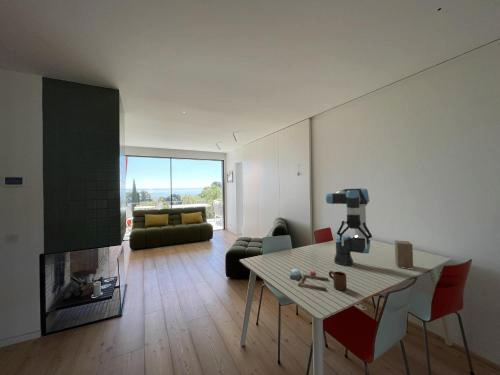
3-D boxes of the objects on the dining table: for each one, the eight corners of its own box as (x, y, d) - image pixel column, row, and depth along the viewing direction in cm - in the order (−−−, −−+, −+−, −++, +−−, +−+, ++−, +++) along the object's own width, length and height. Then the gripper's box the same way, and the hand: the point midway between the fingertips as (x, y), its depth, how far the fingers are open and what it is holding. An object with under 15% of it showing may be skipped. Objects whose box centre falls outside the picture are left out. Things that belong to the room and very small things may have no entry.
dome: (292, 272, 152) (292, 268, 152) (300, 273, 150) (300, 269, 150) (290, 275, 147) (290, 271, 147) (299, 276, 144) (298, 272, 144)
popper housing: (292, 274, 153) (292, 272, 153) (301, 276, 150) (301, 273, 150) (289, 278, 146) (289, 275, 147) (299, 280, 143) (299, 277, 144)
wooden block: (395, 263, 172) (394, 240, 173) (410, 265, 168) (409, 241, 168) (397, 267, 163) (397, 242, 164) (413, 269, 159) (412, 244, 159)
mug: (325, 285, 135) (325, 270, 136) (332, 282, 139) (332, 268, 140) (341, 292, 125) (341, 277, 125) (349, 289, 129) (348, 274, 129)
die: (310, 275, 152) (309, 269, 152) (314, 275, 151) (314, 269, 151) (310, 277, 148) (310, 271, 148) (315, 277, 148) (315, 271, 148)
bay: (303, 276, 150) (303, 274, 150) (328, 280, 143) (328, 278, 143) (298, 285, 135) (298, 283, 135) (326, 290, 127) (326, 288, 127)
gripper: (331, 213, 135) (332, 245, 134) (375, 215, 121) (376, 251, 120) (334, 212, 141) (334, 243, 140) (376, 214, 127) (377, 248, 126)
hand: (354, 247), depth 130 cm, fingers open, 13 cm apart
